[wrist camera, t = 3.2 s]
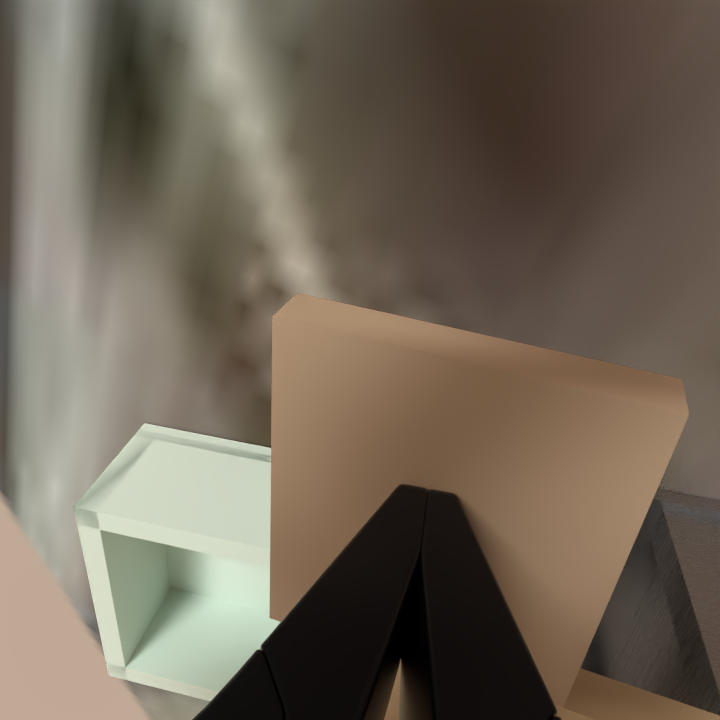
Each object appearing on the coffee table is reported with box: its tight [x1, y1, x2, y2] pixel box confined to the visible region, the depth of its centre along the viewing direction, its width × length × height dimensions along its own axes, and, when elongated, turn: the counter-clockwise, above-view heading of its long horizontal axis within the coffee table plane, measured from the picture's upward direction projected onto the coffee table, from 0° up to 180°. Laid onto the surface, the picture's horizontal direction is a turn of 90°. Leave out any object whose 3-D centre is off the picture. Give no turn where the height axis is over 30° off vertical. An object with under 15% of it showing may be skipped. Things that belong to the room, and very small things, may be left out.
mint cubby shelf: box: [74, 423, 280, 701], centre depth 18 cm, size 10×7×4 cm
